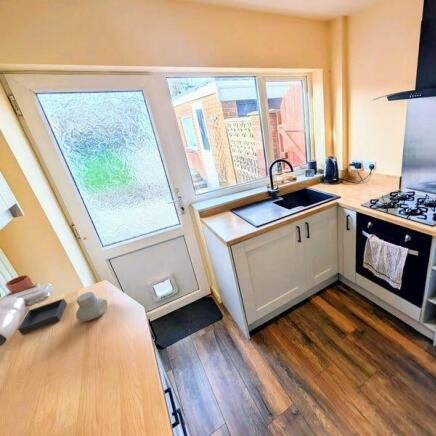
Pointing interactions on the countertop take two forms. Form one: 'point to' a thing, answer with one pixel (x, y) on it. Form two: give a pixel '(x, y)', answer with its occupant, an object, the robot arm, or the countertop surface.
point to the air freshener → (90, 306)
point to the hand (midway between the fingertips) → (25, 289)
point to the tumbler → (19, 284)
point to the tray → (42, 316)
